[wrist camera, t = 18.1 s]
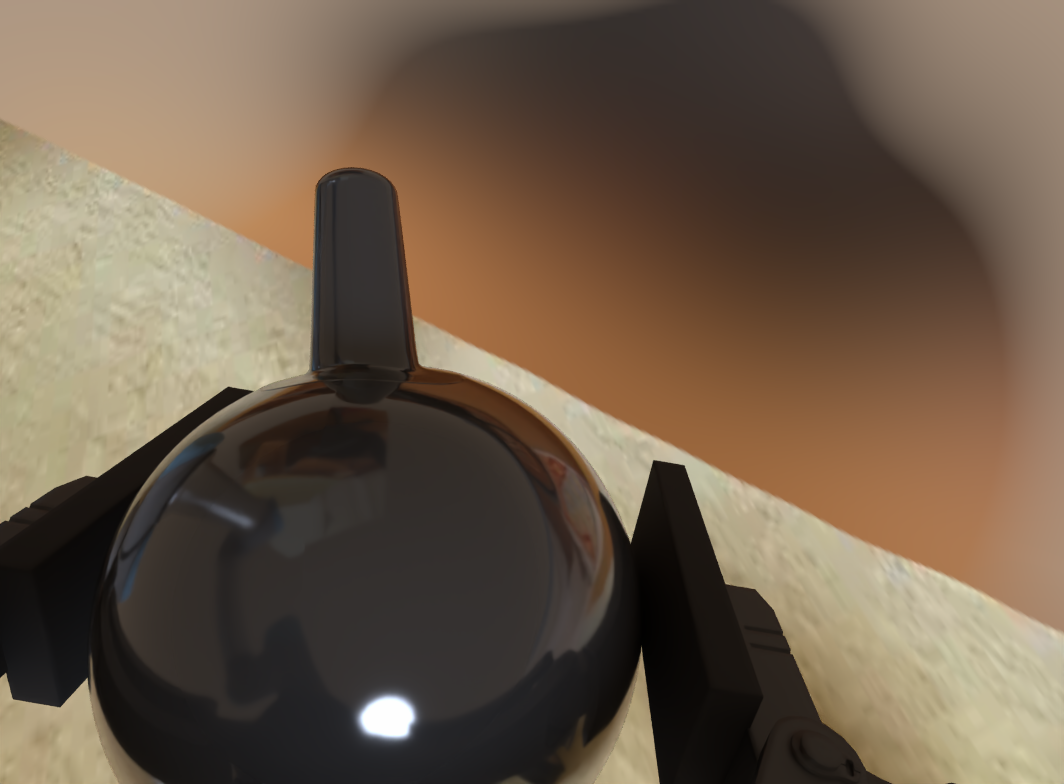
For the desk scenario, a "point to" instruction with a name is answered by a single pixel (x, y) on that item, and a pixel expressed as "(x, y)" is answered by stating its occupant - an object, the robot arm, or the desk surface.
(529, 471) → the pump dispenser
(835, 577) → the desk surface
